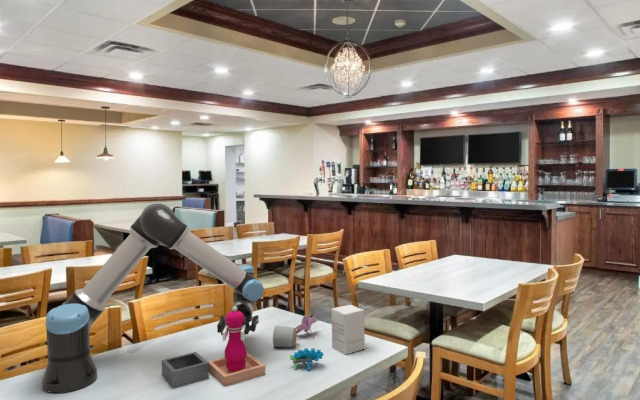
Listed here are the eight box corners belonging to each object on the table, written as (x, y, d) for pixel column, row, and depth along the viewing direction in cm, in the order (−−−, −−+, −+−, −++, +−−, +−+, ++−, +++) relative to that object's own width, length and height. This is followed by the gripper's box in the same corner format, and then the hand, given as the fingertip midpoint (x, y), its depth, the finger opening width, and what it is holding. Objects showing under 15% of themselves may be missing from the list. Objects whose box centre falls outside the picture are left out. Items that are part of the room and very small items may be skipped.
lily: (323, 334, 186) (313, 312, 188) (329, 331, 175) (318, 308, 177) (297, 346, 182) (287, 324, 184) (301, 345, 171) (291, 321, 174)
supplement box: (350, 342, 173) (350, 303, 172) (365, 349, 165) (365, 309, 165) (331, 347, 168) (330, 307, 167) (345, 355, 161) (344, 314, 160)
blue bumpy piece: (325, 356, 155) (320, 344, 148) (326, 374, 151) (321, 362, 144) (293, 360, 156) (287, 348, 149) (293, 377, 152) (287, 366, 145)
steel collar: (172, 388, 137) (172, 372, 137) (162, 375, 146) (161, 359, 146) (208, 378, 144) (208, 362, 143) (196, 366, 153) (195, 351, 153)
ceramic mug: (294, 350, 166) (294, 329, 166) (272, 349, 166) (272, 329, 166) (298, 340, 176) (298, 320, 176) (277, 340, 177) (277, 320, 177)
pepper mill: (251, 365, 149) (250, 305, 148) (236, 373, 143) (235, 310, 141) (235, 360, 152) (234, 302, 151) (220, 368, 146) (218, 307, 145)
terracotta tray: (224, 386, 138) (224, 376, 138) (207, 370, 149) (207, 361, 149) (265, 374, 146) (265, 365, 146) (246, 360, 157) (246, 351, 157)
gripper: (266, 323, 165) (262, 347, 142) (217, 324, 164) (204, 349, 141) (266, 303, 165) (261, 323, 142) (216, 304, 164) (203, 325, 141)
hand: (233, 336), depth 142 cm, fingers closed on pepper mill, 5 cm apart
